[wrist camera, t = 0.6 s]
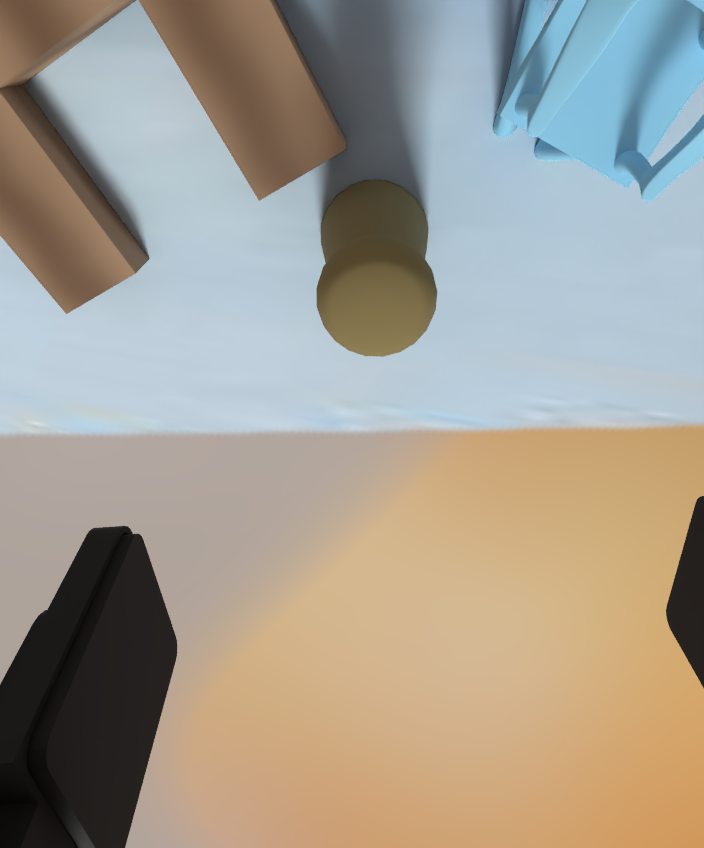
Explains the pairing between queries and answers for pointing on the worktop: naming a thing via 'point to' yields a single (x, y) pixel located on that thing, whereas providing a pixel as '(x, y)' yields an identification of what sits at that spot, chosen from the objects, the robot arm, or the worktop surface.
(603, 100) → the chair
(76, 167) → the notched board
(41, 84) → the worktop surface
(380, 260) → the cork
